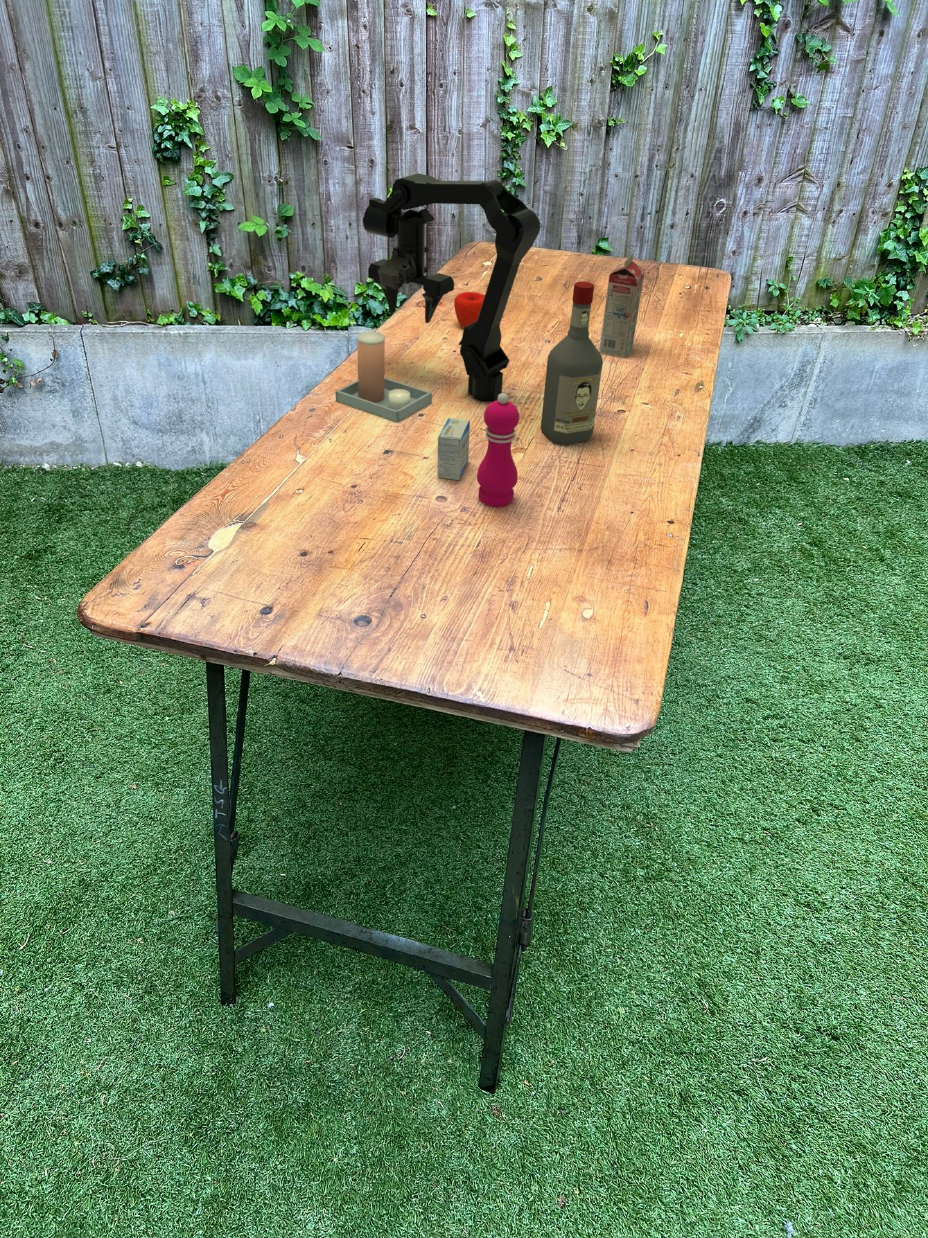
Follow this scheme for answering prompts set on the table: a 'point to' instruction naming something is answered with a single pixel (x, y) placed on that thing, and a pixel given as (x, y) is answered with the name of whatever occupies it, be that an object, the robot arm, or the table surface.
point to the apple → (468, 307)
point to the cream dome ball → (398, 398)
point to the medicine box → (453, 449)
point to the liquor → (573, 377)
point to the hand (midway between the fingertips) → (410, 317)
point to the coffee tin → (371, 366)
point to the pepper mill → (498, 454)
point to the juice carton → (621, 309)
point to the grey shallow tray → (385, 400)
